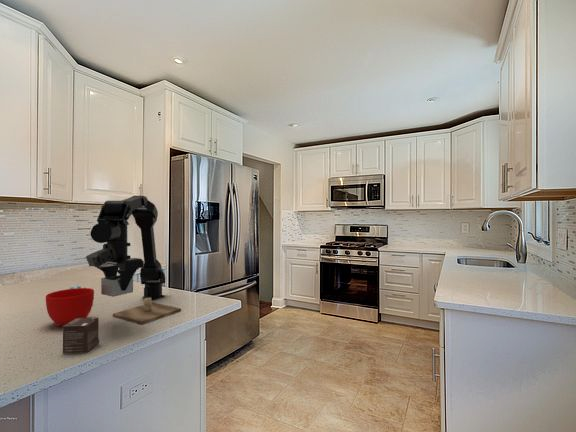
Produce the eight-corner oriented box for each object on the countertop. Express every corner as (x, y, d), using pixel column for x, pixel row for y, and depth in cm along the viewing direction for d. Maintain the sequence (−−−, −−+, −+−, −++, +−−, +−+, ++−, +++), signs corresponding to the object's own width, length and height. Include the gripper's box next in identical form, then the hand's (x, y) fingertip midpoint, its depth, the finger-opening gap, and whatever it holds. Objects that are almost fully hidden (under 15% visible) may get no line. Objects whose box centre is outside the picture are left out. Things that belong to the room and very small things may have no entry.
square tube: (121, 289, 101) (121, 274, 101) (133, 292, 98) (133, 276, 98) (101, 294, 96) (101, 278, 96) (113, 296, 93) (113, 280, 93)
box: (76, 344, 84) (76, 317, 84) (99, 343, 85) (99, 317, 85) (62, 354, 78) (61, 325, 78) (86, 353, 79) (86, 325, 78)
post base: (152, 304, 121) (152, 290, 121) (181, 311, 113) (181, 296, 113) (112, 316, 107) (112, 300, 107) (141, 324, 99) (141, 307, 99)
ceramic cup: (104, 311, 112) (104, 284, 112) (84, 328, 95) (84, 296, 95) (64, 314, 109) (64, 286, 109) (36, 332, 93) (36, 299, 93)
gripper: (73, 240, 94) (74, 291, 95) (108, 243, 85) (109, 299, 85) (109, 238, 104) (110, 284, 104) (144, 240, 95) (145, 290, 95)
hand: (117, 289), depth 97 cm, fingers closed on square tube, 6 cm apart
